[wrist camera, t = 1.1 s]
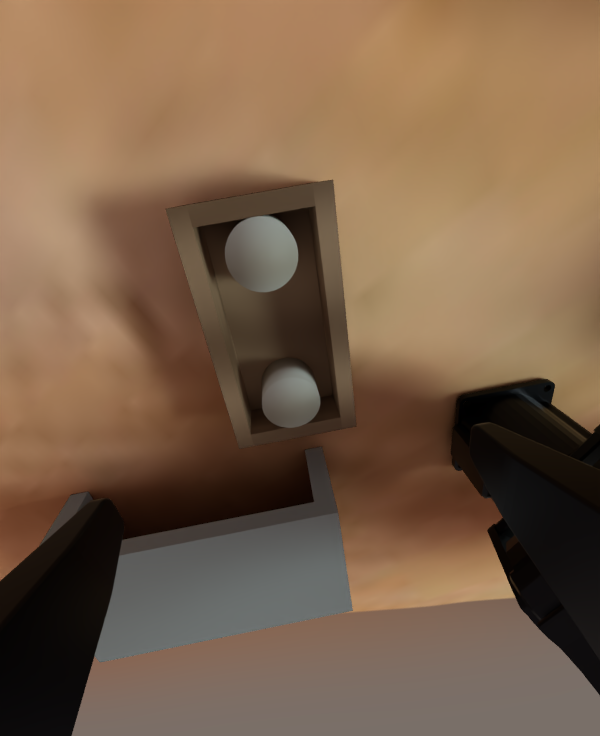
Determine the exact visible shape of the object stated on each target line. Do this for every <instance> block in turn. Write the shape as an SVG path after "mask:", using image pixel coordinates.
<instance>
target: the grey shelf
mask: <svg viewBox="0 0 600 736" xmlns="http://www.w3.org/2000/svg"><path fill="white" fill-rule="evenodd" d="M305 454H306V459H307V465H308V471H309V476H310V482H311V487H312V493H313V499H314V502H312V503H307V504H302V505H297V506H292V507H287V508H282V509H276V510H271V511H266V512H261V513H256V514H251V515H246V516H241V517H236V518H231V519H226V520H221V521H215V522H210V523H205V524H200V525H195V526H190V527H185V528H180V529H175V530H170V531H165V532H160V533H154V534H149V535H144V536H139V537H134V538H129V539H124V540H122V544H121V549H120V555H119V560H118V565H117V571H116V576H115V582H114V587H113V591H112V596H111V599H110V603H109V607H108V610H107V614H106V617H105V621H104V624H103V628H102V631H101V635H100V638H99V642H98V645H97V649H96V652H95V657H96V658H97V660H98V661H99V662H104V661H109V660H114V659H119V658H124V657H129V656H134V655H138V654H143V653H148V652H153V651H158V650H163V649H167V648H173V647H177V646H182V645H187V644H192V643H197V642H202V641H206V640H212V639H217V638H222V637H226V636H231V635H236V634H241V633H246V632H251V631H255V630H260V629H266V628H270V627H275V626H280V625H285V624H290V623H295V622H300V621H305V620H309V619H314V618H319V617H324V616H329V615H334V614H339V613H344V612H349V611H353V609H352V602H351V596H350V589H349V582H348V575H347V569H346V562H345V555H344V549H343V542H342V535H341V528H340V522H339V515H338V510H337V506H336V502H335V498H334V494H333V490H332V486H331V481H330V477H329V473H328V469H327V465H326V461H325V457H324V453H323V449H322V447H317V448H312V449H307V450H305ZM92 500H93V499H92V497H91V495H90V494H89V492H84V493H79V494H74V495H70V497H69V498H68V500H67V502H66V503H65V505H64V507H63V508H62V510H61V511H60V513H59V515H58V516H57V518H56V520H55V521H54V523H53V524H52V526H51V528H50V529H49V531H48V532H47V534H46V536H45V537H44V539H43V541H42V542H41V544H42V543H44V542H45V541H46V540H47V539H48V538H49V537H50V536H51V535H53V534H54V533H55V532H56V531H57V530H58V529H59V528H60V527H61V526H63V525H64V524H65V523H66V522H67V521H68V520H69V519H70V518H72V517H73V516H74V515H75V514H76V513H77V512H78V511H79V510H80V509H82V508H83V507H84V506H85V505H86V504H87V503H88V502H90V501H92ZM41 544H40V545H41ZM40 545H39V546H40Z"/></svg>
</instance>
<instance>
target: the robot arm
mask: <svg viewBox="0 0 600 736" xmlns="http://www.w3.org/2000/svg"><path fill="white" fill-rule="evenodd" d="M554 388H555V384H554V383H553V382H551V381H550V380H548V379H542V380H537V381H532V382H527V383H521V384H516V385H511V386H506V387H501V388H495V389H490V390H485V391H480V392H474V393H469V394H464V395H461V396H460V397H459V398H458V399H457V402H456V414H455V425H454V426H453V430H452V444H451V455H452V465H453V467H454V468H455V469H456V470H458V471H461V470H463V471H464V473H465V474H466V476H467V477H468V478H469V480H470V481H471V482H472V484H473V485H474V487H475V488H476V489H477V491H478V492H479V493H480V495H481V496H483V497H484V498H491V499H492V500H493V501H494V503H495V504H496V506H497V508H498V510H499V511H500V513H501V515H502V517H503V518H502V519H501V520H500V521H499V522H498V523H497V524H493V525H492V526H491V527H490V528H489V529H488V530H487V531H488V533H489V536H490V538H491V541H492V543H493V545H494V548H495V550H496V552H497V555H498V557H499V560H500V562H501V564H502V567H503V569H504V572H505V574H506V576H507V579H508V581H509V584H510V586H511V588H512V591H513V593H514V595H515V597H516V599H517V602H518V604H519V606H520V608H521V609H522V610H523V612H524V613H526V614H527V615H528V616H529V618H530V619H531V620H532V621H533V623H534V624H535V625H536V626H537V627H538V628H539V629H540V630H541V631H542V632H543V633H544V634H545V635H546V636H547V637H548V638H549V639H550V640H551V641H552V642H554V643H555V644H556V645H557V646H559V648H561V649H562V650H563V652H564V653H565V654H566V655H567V656H568V657H569V658H570V659H571V661H572V662H573V663H574V664H575V665H576V666H577V667H578V668H579V669H580V671H581V672H582V673H583V674H584V676H585V677H586V678H587V679H588V681H589V682H590V683H591V684H592V686H593V687H594V688H595V689H596V691H597V692H598V693H599V695H600V425H599V426H598V427H596V428H595V429H594V431H595V432H594V433H593V434H592V433H590V432H589V431H587V430H586V429H585V428H583V427H582V426H581V425H579V424H578V423H577V422H575V421H574V420H572V419H571V418H570V417H568V416H567V415H566V414H564V413H563V412H561V411H560V410H559V409H557V408H556V407H555V406H553V405H552V404H551V401H552V397H553V393H554ZM465 401H467V402H466V403H464V402H465ZM463 403H464V404H463ZM123 533H124V521H123V518H122V517H121V515H120V513H119V512H118V510H117V508H116V507H115V505H114V503H113V502H112V500H111V499H109V498H102V499H97V500H92V501H90V502H88V503H87V504H86V505H85V506H84V507H83V508H82V509H80V510H79V511H78V512H77V513H76V514H75V515H74V516H73V517H72V518H70V519H69V520H68V521H67V522H66V523H65V524H64V525H63V526H61V527H60V528H59V529H58V530H57V531H56V532H55V533H54V534H53V535H51V536H50V537H49V538H48V539H47V540H46V541H45V542H44V543H42V544H41V545H40V546H39V547H38V548H37V549H36V550H35V551H33V552H32V553H31V554H30V555H29V556H28V557H27V558H26V559H25V560H23V561H22V562H21V563H20V564H19V565H18V566H17V567H16V568H14V569H13V570H12V571H11V572H10V573H9V574H8V575H7V576H5V577H4V578H3V579H2V580H1V581H0V736H71V735H72V732H73V728H74V725H75V722H76V718H77V715H78V711H79V708H80V704H81V700H82V697H83V694H84V690H85V687H86V683H87V680H88V676H89V673H90V669H91V666H92V662H93V659H94V656H95V652H96V649H97V645H98V642H99V638H100V635H101V631H102V628H103V624H104V621H105V617H106V614H107V610H108V607H109V603H110V599H111V596H112V591H113V587H114V582H115V576H116V571H117V565H118V560H119V555H120V549H121V544H122V538H123Z"/></svg>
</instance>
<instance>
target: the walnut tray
mask: <svg viewBox="0 0 600 736" xmlns="http://www.w3.org/2000/svg"><path fill="white" fill-rule="evenodd" d="M166 212H167V216H168V219H169V222H170V225H171V229H172V232H173V235H174V238H175V242H176V245H177V248H178V251H179V255H180V258H181V261H182V264H183V267H184V271H185V274H186V277H187V280H188V284H189V287H190V290H191V293H192V297H193V300H194V303H195V306H196V310H197V313H198V316H199V319H200V323H201V326H202V329H203V332H204V336H205V339H206V342H207V345H208V349H209V352H210V355H211V358H212V362H213V365H214V368H215V371H216V375H217V378H218V381H219V384H220V387H221V391H222V394H223V397H224V400H225V404H226V407H227V410H228V413H229V417H230V420H231V423H232V426H233V430H234V433H235V436H236V439H237V443H238V446H239V449H242V448H247V447H252V446H257V445H262V444H268V443H273V442H278V441H283V440H289V439H294V438H299V437H304V436H309V435H315V434H320V433H325V432H330V431H335V430H341V429H346V428H351V427H356V416H355V406H354V395H353V385H352V374H351V364H350V353H349V343H348V332H347V321H346V311H345V300H344V290H343V279H342V269H341V258H340V248H339V237H338V227H337V216H336V205H335V195H334V184H333V180H328V181H321V182H315V183H309V184H303V185H298V186H292V187H286V188H280V189H275V190H269V191H263V192H257V193H252V194H246V195H240V196H235V197H229V198H223V199H217V200H212V201H206V202H200V203H194V204H189V205H183V206H178V207H173V208H168V209H166Z"/></svg>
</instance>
